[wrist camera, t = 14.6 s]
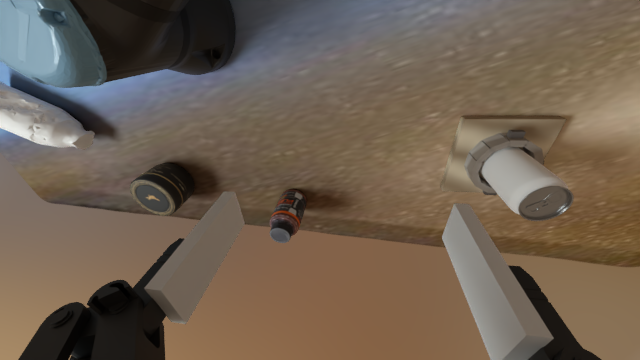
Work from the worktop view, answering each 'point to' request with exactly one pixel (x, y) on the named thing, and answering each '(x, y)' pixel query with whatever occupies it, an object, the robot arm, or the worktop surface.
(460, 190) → the grey ring holder base
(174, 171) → the jar
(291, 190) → the supplement bottle
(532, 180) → the can
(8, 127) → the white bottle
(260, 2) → the worktop surface
